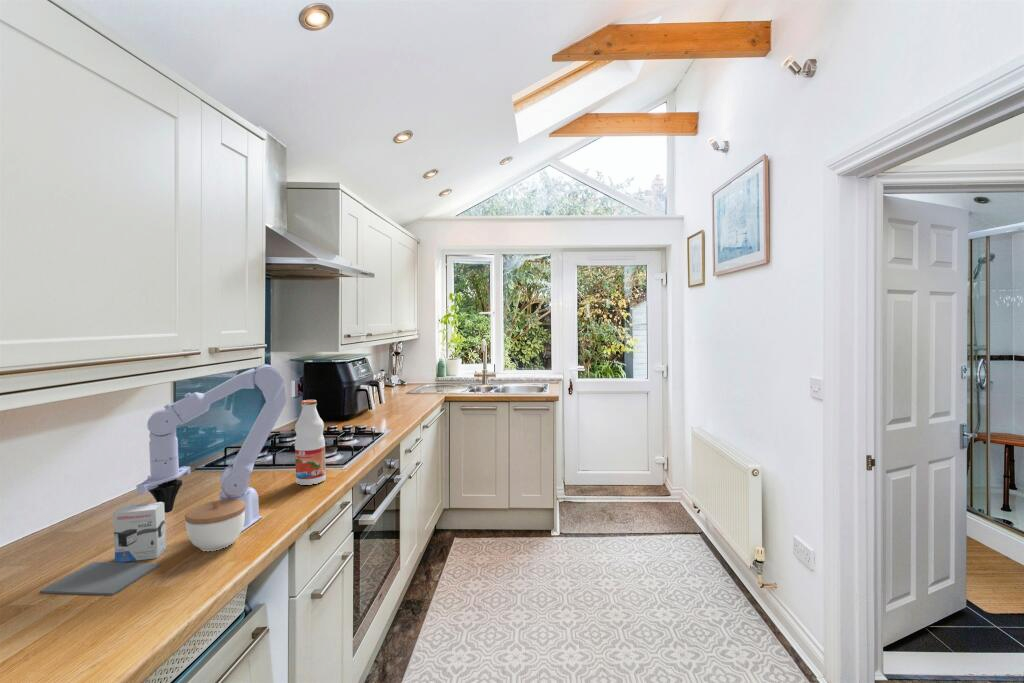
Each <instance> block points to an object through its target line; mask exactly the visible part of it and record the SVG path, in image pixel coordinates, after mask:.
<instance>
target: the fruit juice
mask: <svg viewBox="0 0 1024 683" xmlns="http://www.w3.org/2000/svg"><path fill="white" fill-rule="evenodd" d="M317 404H318V402H317V400H316V399H306V400H305V399H304V400H301V401H300V405H301V407H302V408H301V412H300V414H299V418H298V420H297V421H296V423H295V425H294V430H295V431H294V432H295V434H296V438H295V441H294V452H295V453H294V454H295V456H294V457H295V458H294V459H295V461H294V462H295V482H296V485H298V484H300V485H310V484H315V483H319V482H322V481H324V480H325V481H326V479H327V478H326V477H327V473H326V470H327V469H326V468H327V467H326V440H325V437H324V429H325V423H324V421H323V419H322V418H321V417H320V414H319V412H318V410H317ZM325 481H324V482H325ZM322 483H323V482H322ZM300 485H299V486H300Z"/></svg>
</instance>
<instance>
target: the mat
mask: <svg viewBox="0 0 1024 683" xmlns="http://www.w3.org/2000/svg"><path fill="white" fill-rule="evenodd" d="M160 566H161V563H155V562H154V563H153V562H151V563H149V562H146V563H145V562H144V563H143V562H122V563H117V562H115V561H114V562H113V561H111V562H110V561H93V562H91V563H89V564H87V565H85V566H83V567H82V568H80V569H78V570H75V571H74V572H72V573H70V574H68V575H66V576H64V577H63V578H61V579H59V580H57V581H55V582H53V583H52V584H50V585H48V586H46V587H44V588H42V589H41V590H39V593H40V592H42V593H41V594H70V595H71V594H72V595H74V594H75V595H98V596H99V595H103V596H105V595H106V596H115V595H116V594H118V593H120V592H121V591H122V590H124V589H126V588H127V587H128V586H130V585H132V584H134V583H135V582H136V581H138V580H140V579H141V578H143V577H144V576H146V575H148V574H149V573H151V572H152V571H154V570H156V569H157V568H158V567H160ZM44 592H45V593H44ZM48 592H49V593H48Z"/></svg>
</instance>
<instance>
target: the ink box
mask: <svg viewBox="0 0 1024 683" xmlns="http://www.w3.org/2000/svg"><path fill="white" fill-rule="evenodd" d="M165 514H166V513H165V510H164V503H162V502H156V501H155V502H145V503H144V502H143V503H135V504H125V505H124V506H122V507H120V508H119V509H117V510H116V511H114V512H113V513H112V520H113V522H112V523H113V524H112V525H113V542H114V562H117V563H131V562H137V561H144V560H150V559H151V560H153V559H158V558H159V557H160V556H161V555H162V554H163V553H164V552H165V551H166V550H167V542H166V541H167V540H166V539H167V538H166V519H165V518H166V517H165V516H166V515H165Z"/></svg>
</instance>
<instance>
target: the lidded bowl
mask: <svg viewBox="0 0 1024 683" xmlns="http://www.w3.org/2000/svg"><path fill="white" fill-rule="evenodd" d="M184 519H185V528H186V533H187V534H186V535H187V537H188V539H189V541H190V542H191V544H192V545H193V546H195V547H196V548H198V549H199V550H200V551H201V550H202V552H205V551H207V553H208V552H209V551H211V552H216V550H217V551H220V549H221V550H223V549H222V548H224V549H226V548H229V547H230V546H232V545H233V544H234V543H233V542H235V540H236V539H237V538H239V536H240V535H241V533H242V532H243V531H242V529H243V526H244V521H245V502H244V501H242V500H238V499H223V500H219V499H214V500H211V501H208V502H204V503H201V504H198V505H196V506H193V507H191V508H190V509H188V510H187V511H186V512H185V513H184ZM241 531H242V532H241ZM231 544H232V545H231ZM229 545H230V546H229ZM228 546H229V547H228ZM225 547H226V548H225Z"/></svg>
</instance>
